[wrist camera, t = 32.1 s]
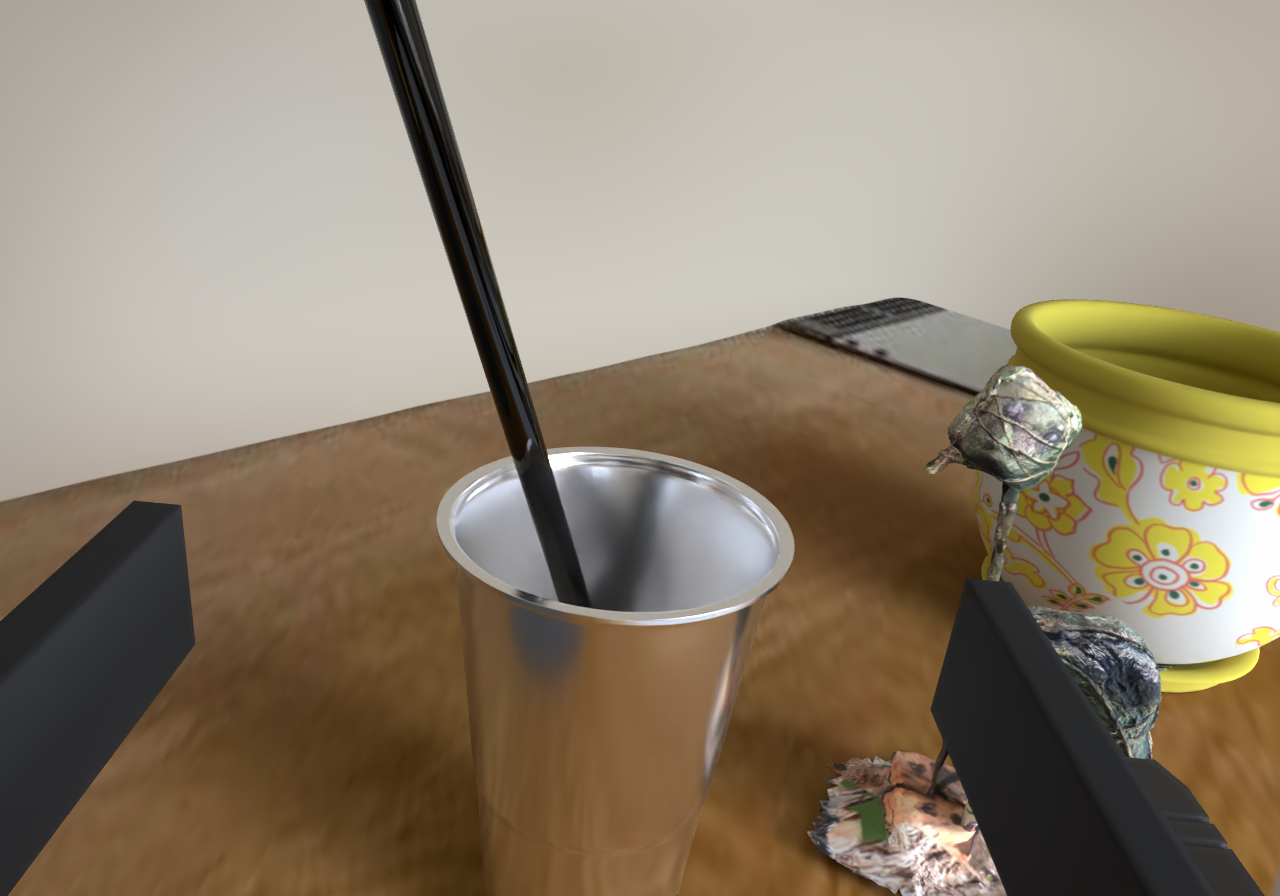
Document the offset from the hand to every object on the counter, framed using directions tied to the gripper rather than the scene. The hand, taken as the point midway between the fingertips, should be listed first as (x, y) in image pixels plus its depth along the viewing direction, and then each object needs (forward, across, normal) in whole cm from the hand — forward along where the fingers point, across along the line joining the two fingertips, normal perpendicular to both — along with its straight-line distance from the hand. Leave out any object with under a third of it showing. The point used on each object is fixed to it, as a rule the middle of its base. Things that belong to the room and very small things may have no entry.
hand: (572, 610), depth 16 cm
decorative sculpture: (+14, +15, -19) cm, 28 cm away
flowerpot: (+32, +29, -19) cm, 47 cm away
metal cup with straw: (+10, 0, -19) cm, 21 cm away
